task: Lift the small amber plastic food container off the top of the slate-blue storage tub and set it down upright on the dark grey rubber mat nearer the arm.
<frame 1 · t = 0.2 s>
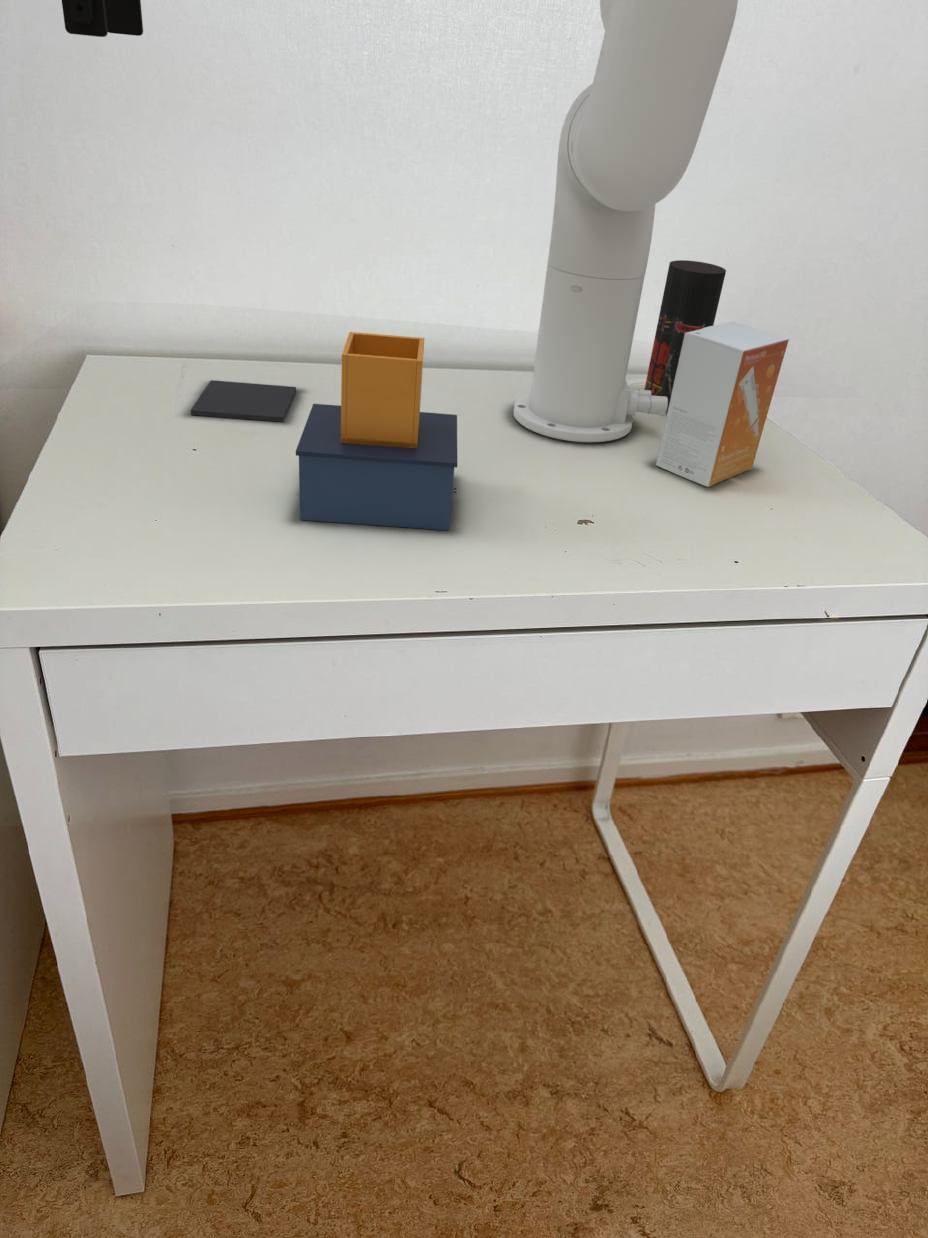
hand: (106, 34, 77), 31 cm above the table, tool pointing down, fingers open, 9 cm apart
storage tub: (378, 498, 77), on the table
rubber mat: (245, 402, 93), on the table
deodorant: (667, 405, 104), on the table
amber container: (381, 431, 74), point 6 cm above the table, touching storage tub
small box: (703, 469, 89), on the table
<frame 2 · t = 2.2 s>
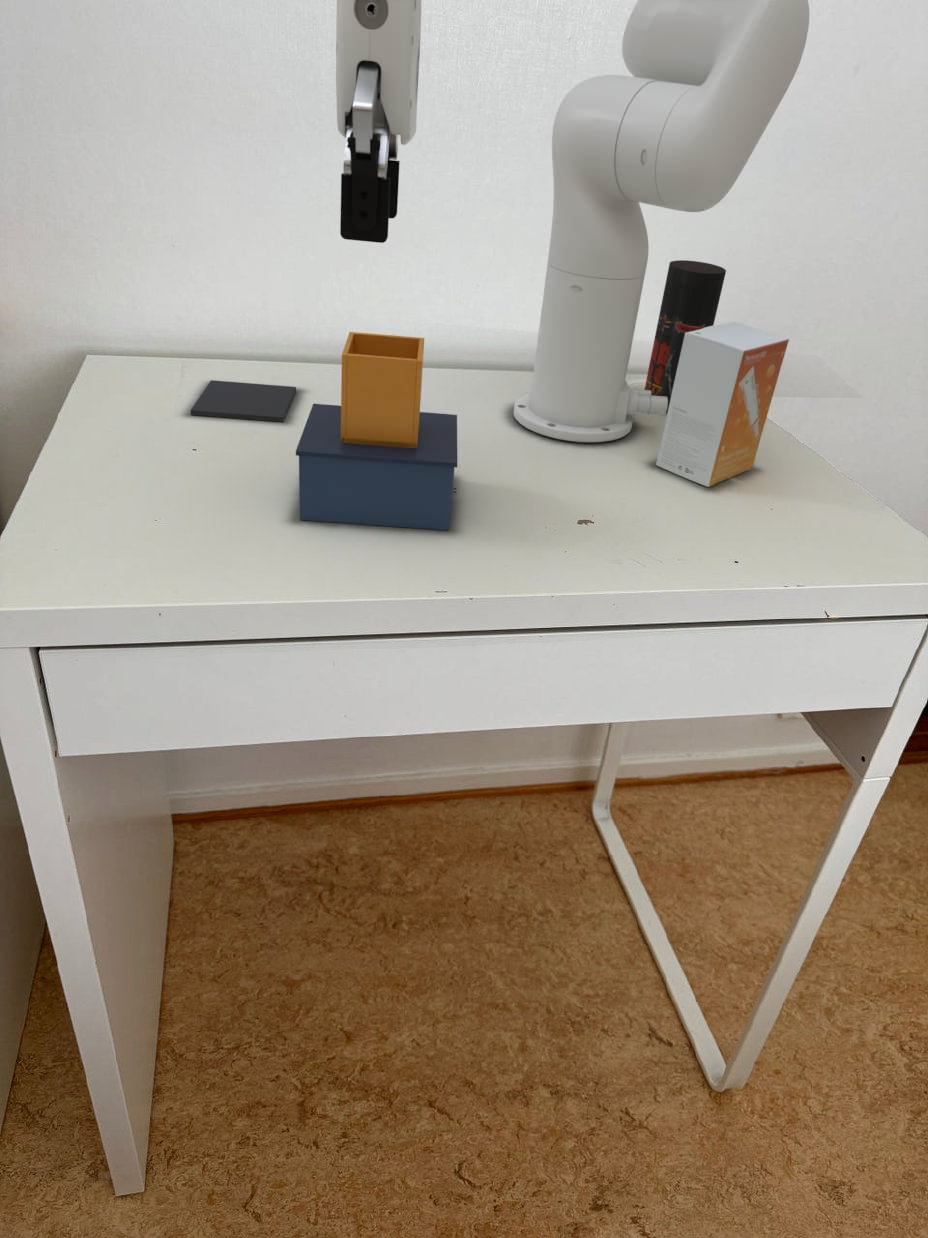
hand: (370, 227, 67), 21 cm above the table, tool pointing down, fingers open, 9 cm apart
nothing on the table moved.
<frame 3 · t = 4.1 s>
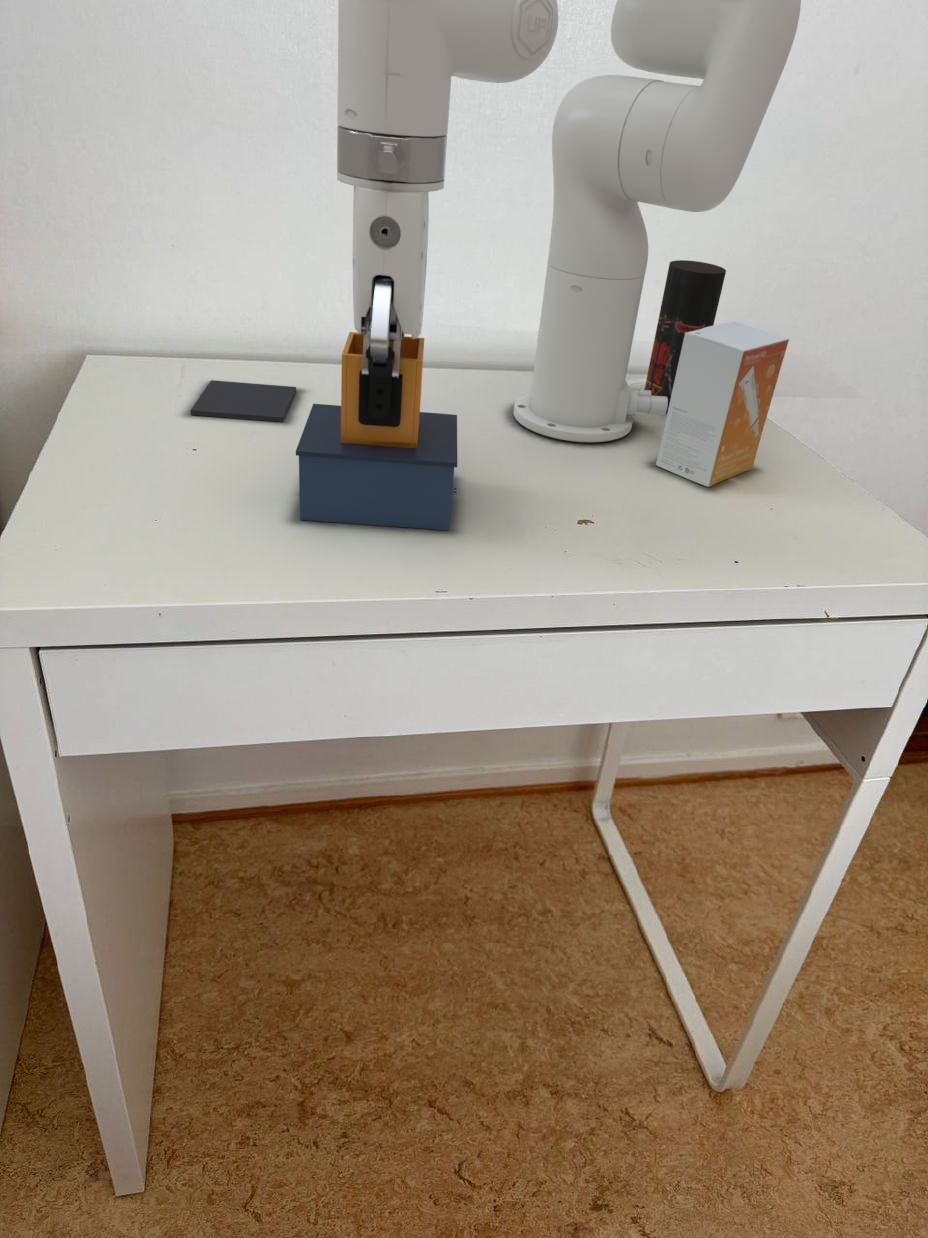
hand: (382, 406, 73), 8 cm above the table, tool pointing down, fingers closed on amber container, 6 cm apart
amber container: (381, 431, 74), point 6 cm above the table, touching gripper, storage tub
everything else where it was.
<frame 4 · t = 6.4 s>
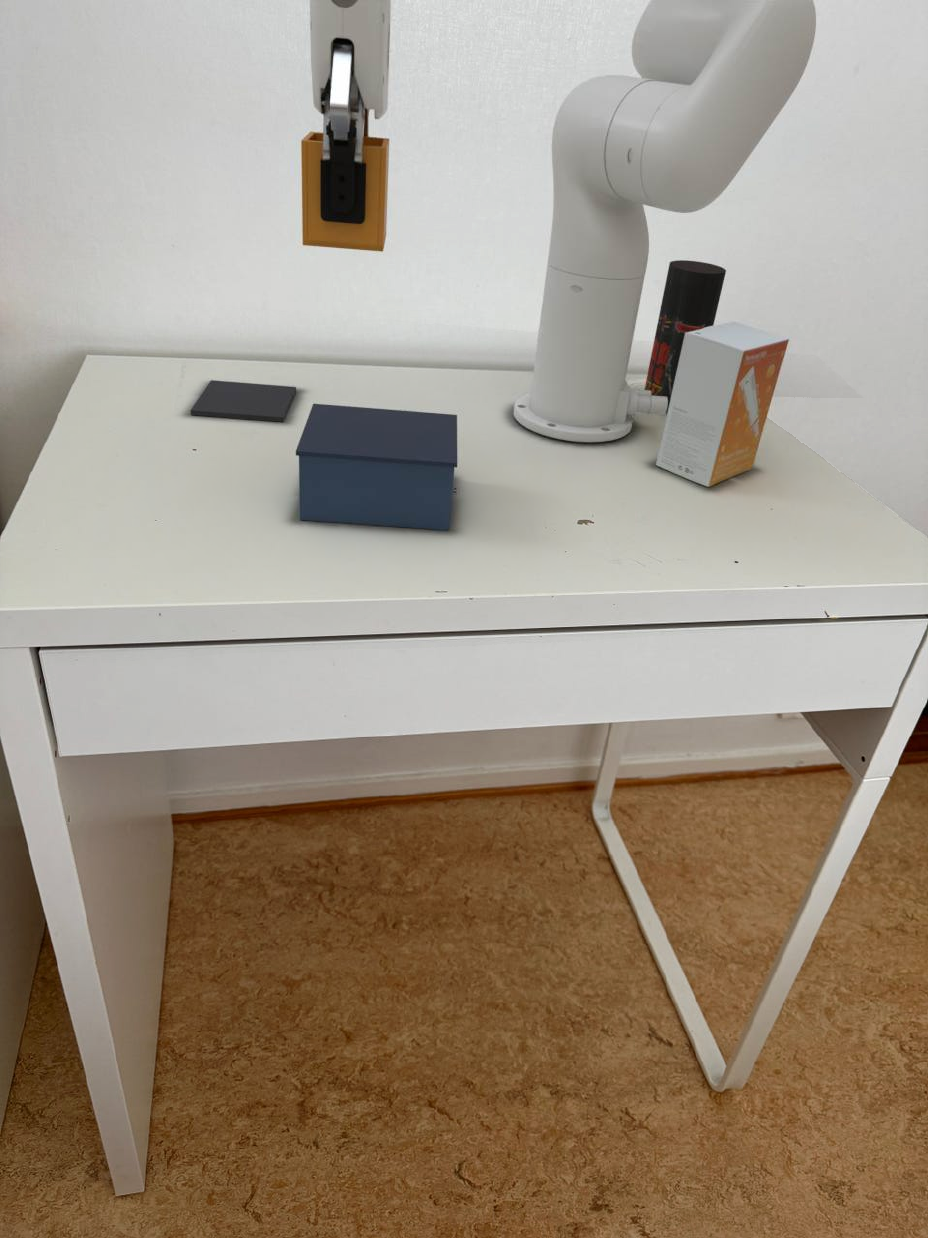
hand: (346, 211, 70), 22 cm above the table, tool pointing down, fingers closed on amber container, 6 cm apart
amber container: (345, 240, 71), point 19 cm above the table, touching gripper
everything else where it was.
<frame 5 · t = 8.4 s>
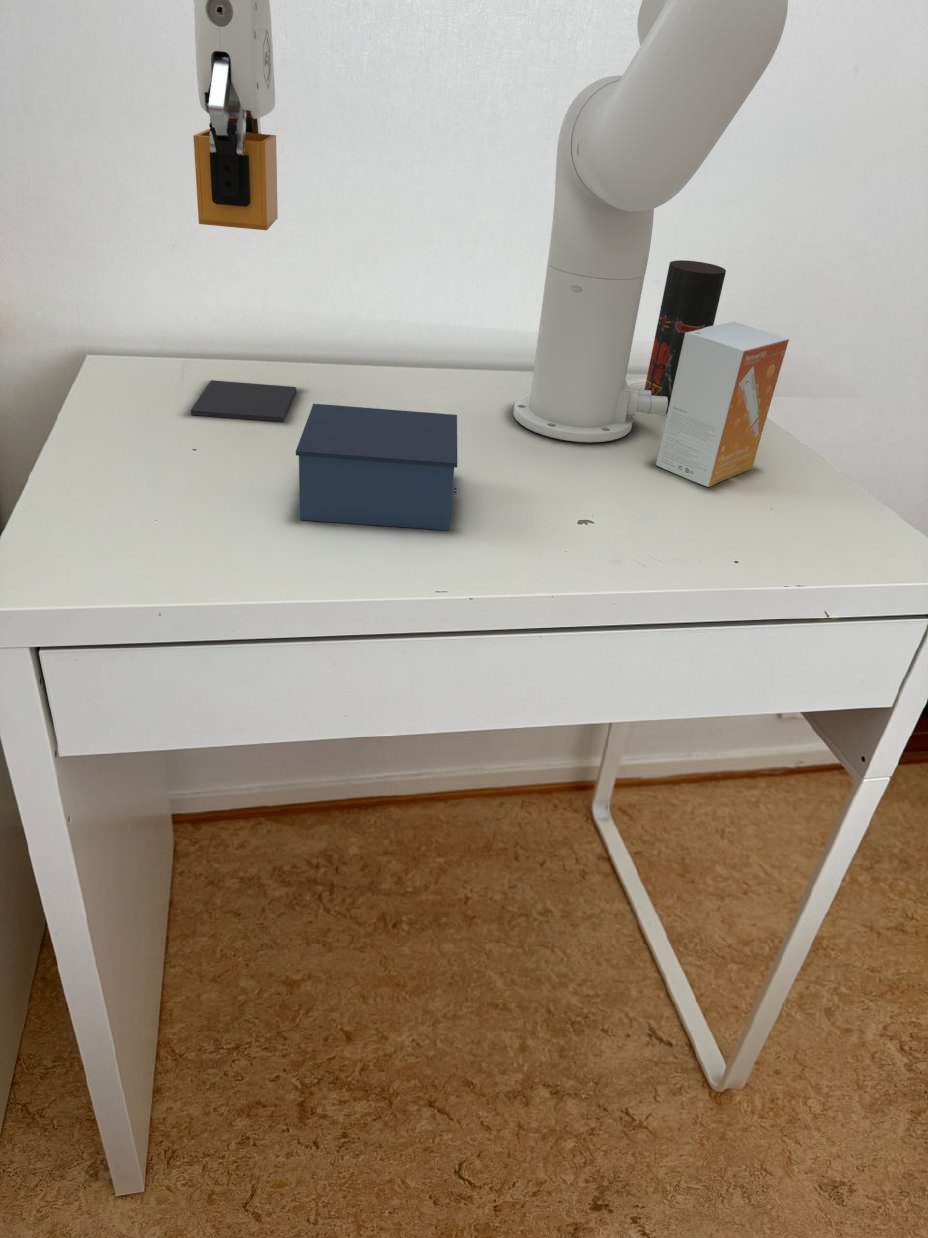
hand: (238, 196, 82), 20 cm above the table, tool pointing down, fingers closed on amber container, 6 cm apart
amber container: (239, 221, 83), point 18 cm above the table, touching gripper
everything else where it was.
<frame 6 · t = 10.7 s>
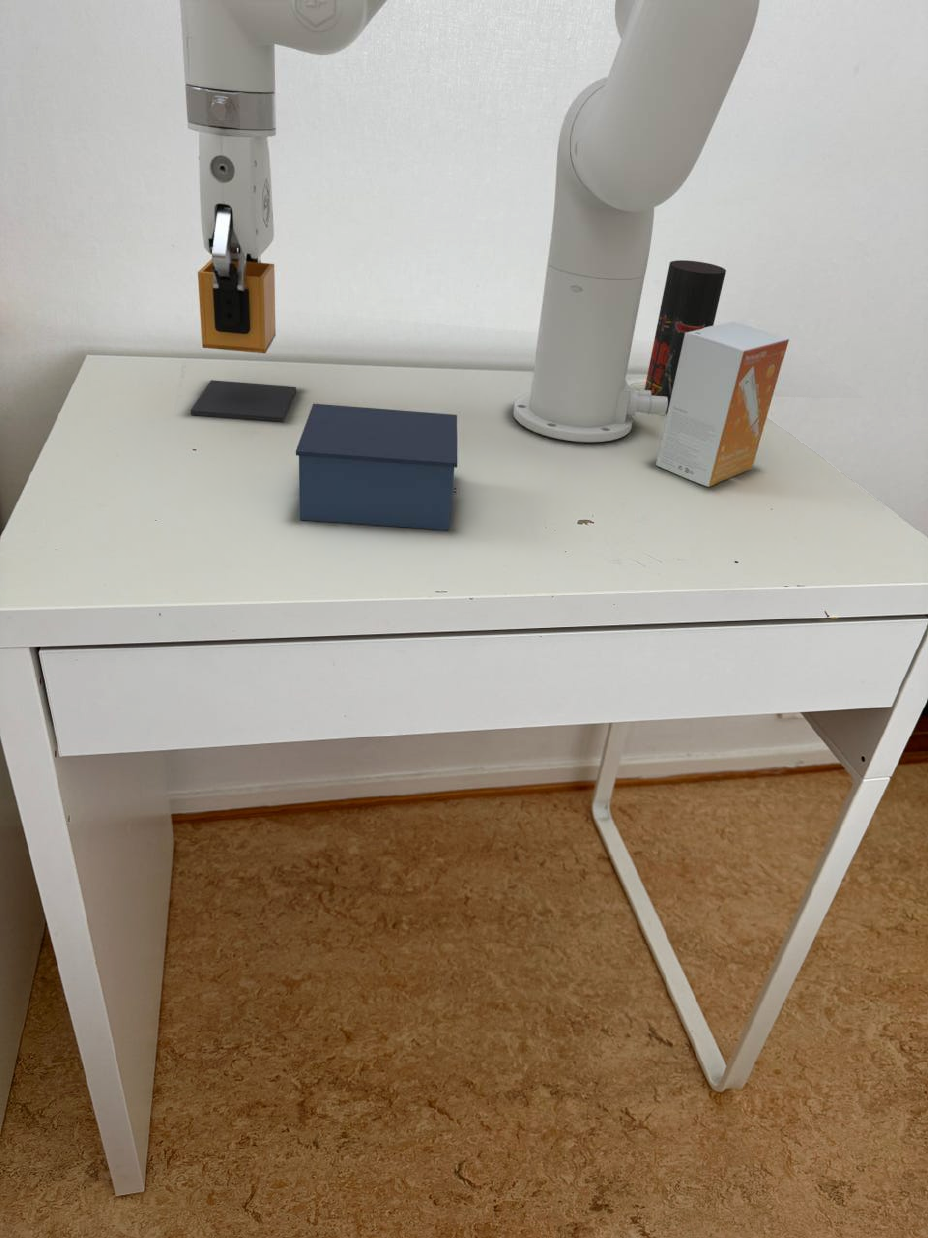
hand: (239, 320, 89), 8 cm above the table, tool pointing down, fingers closed on amber container, 6 cm apart
amber container: (240, 341, 90), point 6 cm above the table, touching gripper
everything else where it was.
when the fingers open (3 cm above the table, at t = 12.5 s): amber container stays where it is, resting on rubber mat.
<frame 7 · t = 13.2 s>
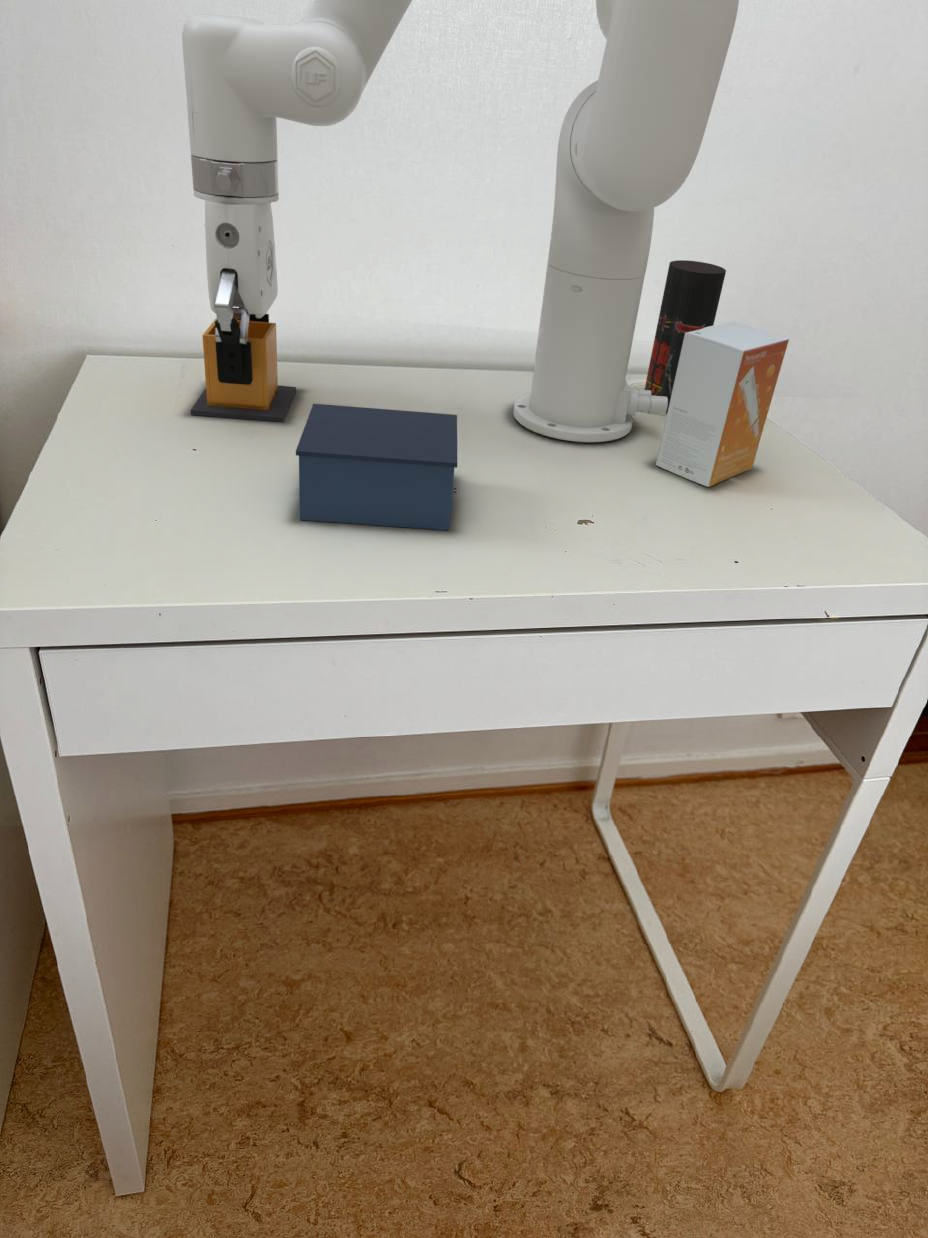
hand: (245, 366, 91), 4 cm above the table, tool pointing down, fingers open, 9 cm apart
amber container: (243, 397, 93), resting on rubber mat
everything else where it was.
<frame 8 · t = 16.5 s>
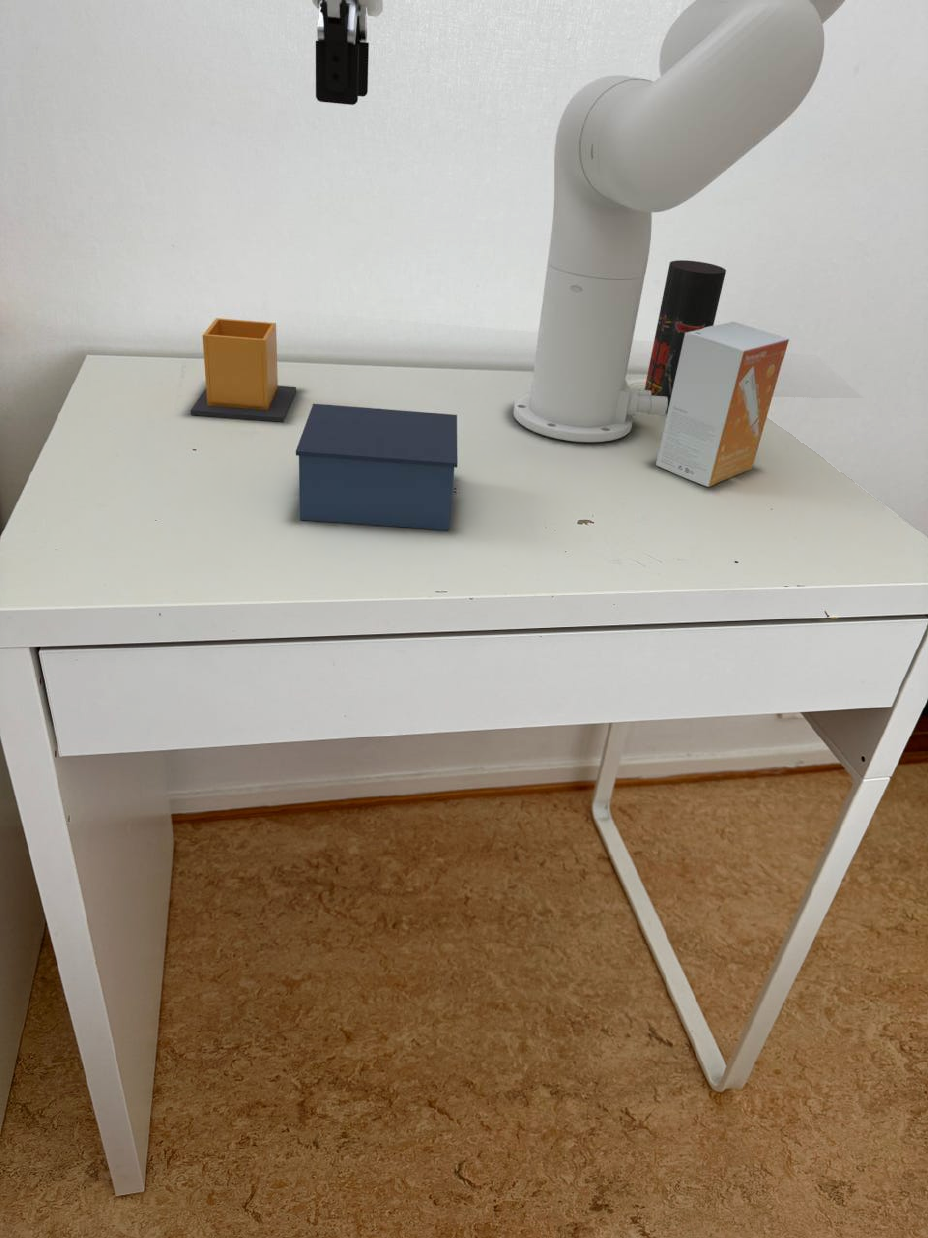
hand: (343, 98, 75), 28 cm above the table, tool pointing down, fingers open, 9 cm apart
nothing on the table moved.
at the end: amber container 0.2 cm off-centre on the rubber mat, point 0.5 cm above the rubber mat's base; amber container tilted 0°; amber container touching rubber mat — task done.
